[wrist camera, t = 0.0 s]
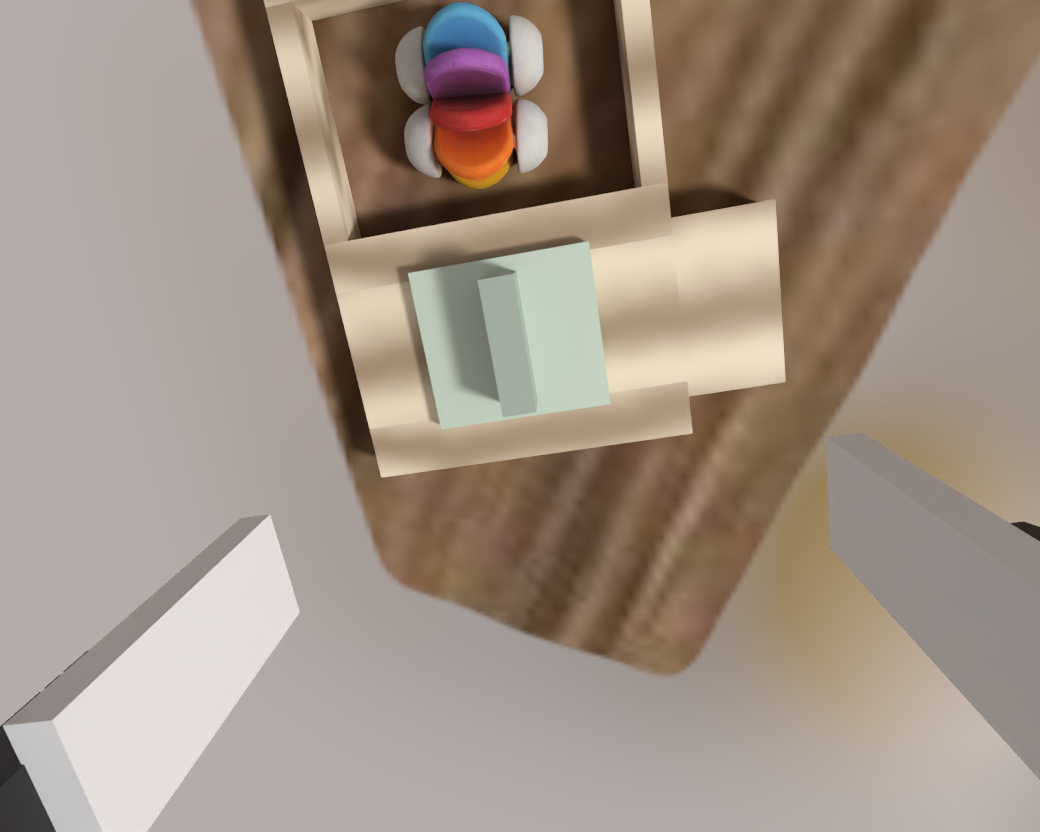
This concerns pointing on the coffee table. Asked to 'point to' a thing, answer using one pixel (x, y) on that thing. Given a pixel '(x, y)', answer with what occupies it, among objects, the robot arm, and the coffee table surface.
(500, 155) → the rainbow toy vehicle
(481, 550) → the coffee table surface
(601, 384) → the lid
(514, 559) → the coffee table surface
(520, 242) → the board
